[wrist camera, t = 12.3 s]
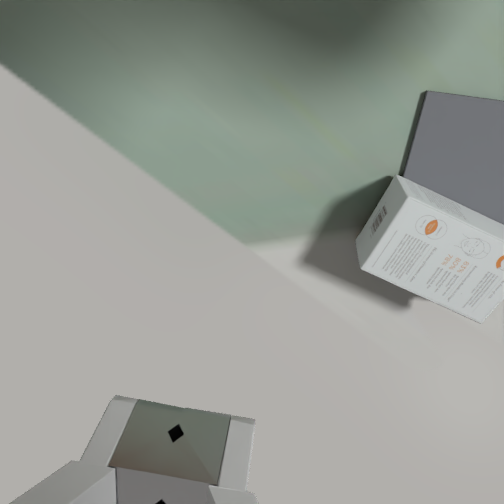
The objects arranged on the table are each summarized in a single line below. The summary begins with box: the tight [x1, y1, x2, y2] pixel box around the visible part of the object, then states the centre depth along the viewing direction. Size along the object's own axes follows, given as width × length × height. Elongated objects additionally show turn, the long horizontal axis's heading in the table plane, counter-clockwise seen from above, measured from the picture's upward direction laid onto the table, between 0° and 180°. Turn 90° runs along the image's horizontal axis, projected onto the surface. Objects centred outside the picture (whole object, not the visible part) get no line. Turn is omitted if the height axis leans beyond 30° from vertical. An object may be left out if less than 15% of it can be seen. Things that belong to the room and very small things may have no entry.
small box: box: [355, 175, 504, 324], centre depth 43 cm, size 8×6×13 cm
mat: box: [402, 91, 504, 225], centre depth 44 cm, size 18×13×1 cm
